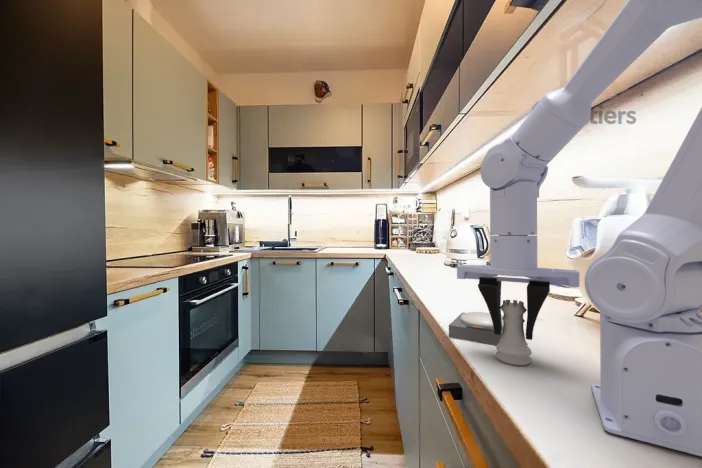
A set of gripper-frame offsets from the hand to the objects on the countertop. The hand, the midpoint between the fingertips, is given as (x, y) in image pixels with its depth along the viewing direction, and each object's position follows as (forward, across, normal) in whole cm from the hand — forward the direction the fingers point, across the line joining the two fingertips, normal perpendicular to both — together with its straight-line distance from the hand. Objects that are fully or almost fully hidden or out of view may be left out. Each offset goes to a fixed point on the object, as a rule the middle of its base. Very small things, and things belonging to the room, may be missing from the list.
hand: (513, 335), depth 42 cm
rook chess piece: (+4, 0, 0) cm, 4 cm away
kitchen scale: (+3, +5, -10) cm, 12 cm away
